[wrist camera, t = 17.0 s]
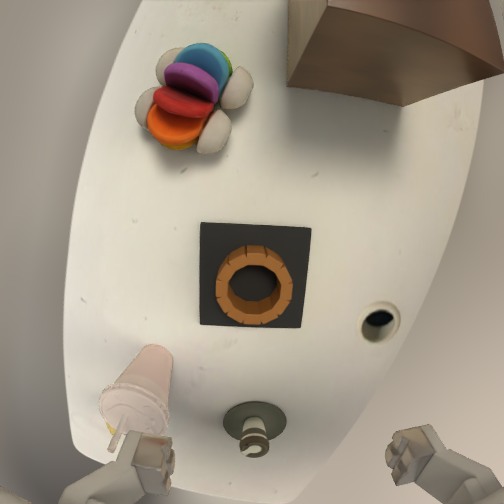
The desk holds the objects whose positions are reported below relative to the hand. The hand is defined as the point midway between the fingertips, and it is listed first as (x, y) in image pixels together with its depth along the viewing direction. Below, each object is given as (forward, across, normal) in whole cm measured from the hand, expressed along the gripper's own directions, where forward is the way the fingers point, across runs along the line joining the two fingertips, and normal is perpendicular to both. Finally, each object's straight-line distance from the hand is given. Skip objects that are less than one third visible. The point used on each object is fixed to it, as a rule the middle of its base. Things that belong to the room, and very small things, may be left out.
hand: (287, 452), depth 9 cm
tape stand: (+21, -7, -24) cm, 32 cm away
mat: (+21, +1, 0) cm, 21 cm away
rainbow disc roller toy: (+21, +7, -16) cm, 27 cm away
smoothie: (+21, +11, +10) cm, 26 cm away
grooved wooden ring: (+20, +1, 0) cm, 20 cm away
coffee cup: (+21, 0, +19) cm, 28 cm away
